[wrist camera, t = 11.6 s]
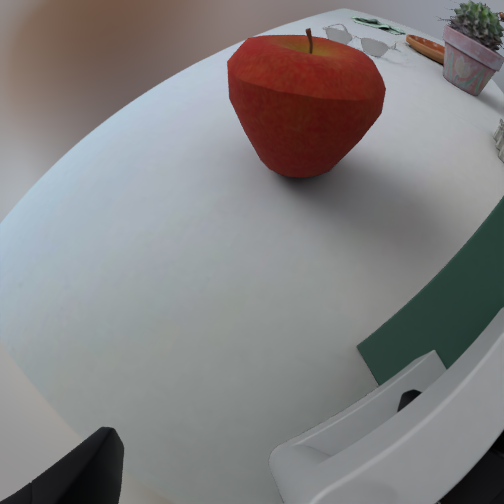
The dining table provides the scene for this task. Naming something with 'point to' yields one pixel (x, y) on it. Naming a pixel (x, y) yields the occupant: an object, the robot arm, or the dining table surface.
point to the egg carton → (500, 139)
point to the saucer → (427, 48)
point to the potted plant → (472, 47)
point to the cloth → (378, 25)
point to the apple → (303, 100)
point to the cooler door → (426, 404)
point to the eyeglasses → (367, 44)
